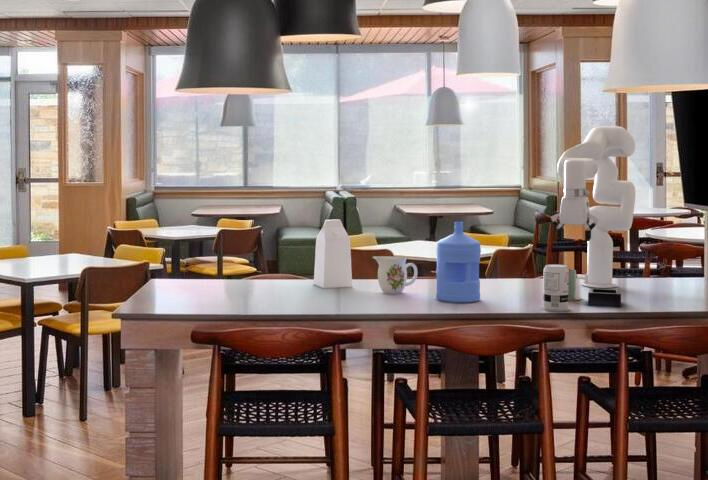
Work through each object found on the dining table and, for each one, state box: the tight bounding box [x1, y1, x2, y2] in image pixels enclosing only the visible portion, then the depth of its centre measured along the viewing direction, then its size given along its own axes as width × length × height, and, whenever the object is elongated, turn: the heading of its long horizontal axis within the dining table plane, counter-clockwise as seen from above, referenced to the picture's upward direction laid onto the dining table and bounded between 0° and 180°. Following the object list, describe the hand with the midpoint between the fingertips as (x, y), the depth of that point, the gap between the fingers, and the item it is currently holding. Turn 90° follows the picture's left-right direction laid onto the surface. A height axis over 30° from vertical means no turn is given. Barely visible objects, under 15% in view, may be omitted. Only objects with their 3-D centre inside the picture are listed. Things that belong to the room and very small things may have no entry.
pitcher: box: [372, 255, 419, 295], centre depth 365 cm, size 11×18×14 cm, turn 104°
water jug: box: [435, 221, 482, 304], centre depth 348 cm, size 16×16×28 cm
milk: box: [313, 219, 353, 289], centre depth 383 cm, size 12×12×26 cm
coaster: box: [568, 296, 582, 302], centre depth 352 cm, size 10×10×1 cm
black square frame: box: [587, 287, 622, 308], centre depth 340 cm, size 11×11×5 cm
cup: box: [568, 268, 577, 299], centre depth 351 cm, size 6×6×10 cm
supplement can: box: [542, 263, 569, 312], centre depth 328 cm, size 8×8×15 cm
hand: (574, 240), depth 352 cm, fingers open, 9 cm apart
